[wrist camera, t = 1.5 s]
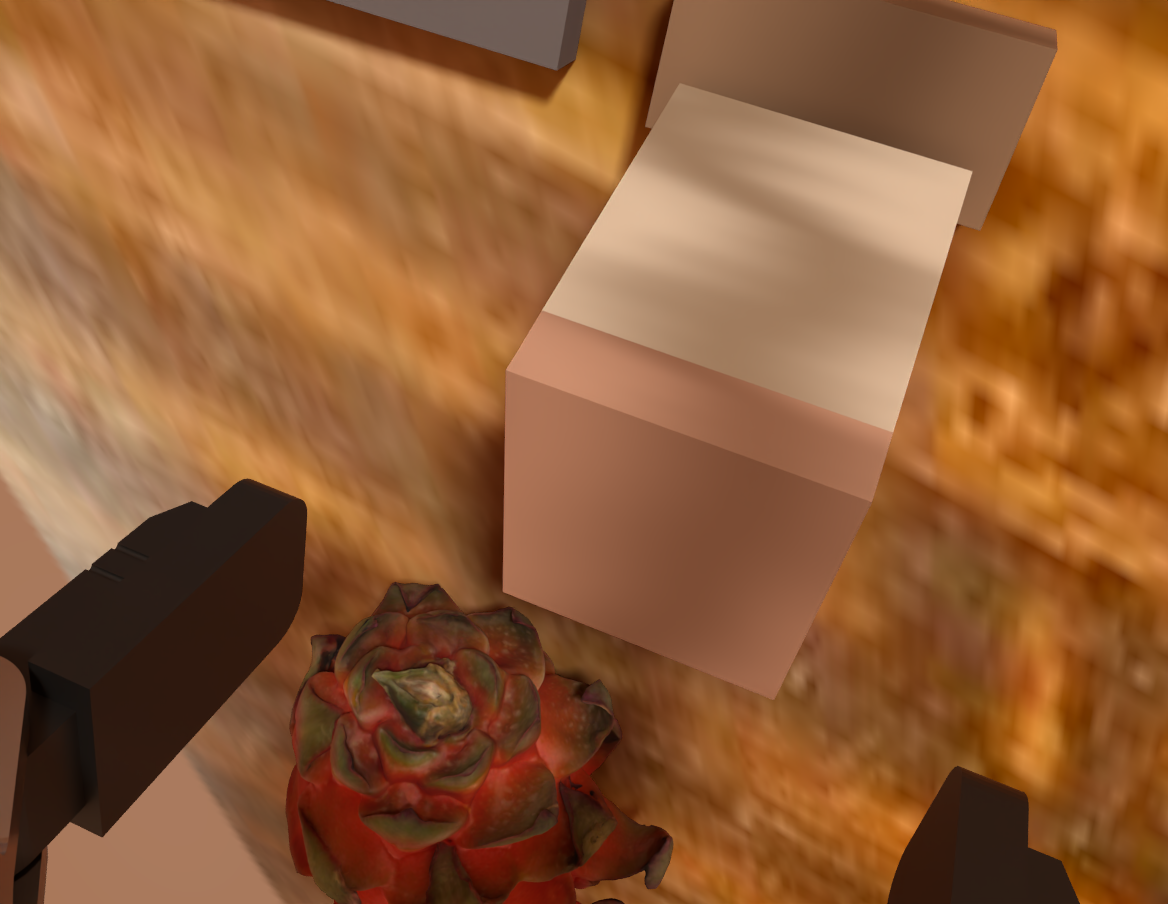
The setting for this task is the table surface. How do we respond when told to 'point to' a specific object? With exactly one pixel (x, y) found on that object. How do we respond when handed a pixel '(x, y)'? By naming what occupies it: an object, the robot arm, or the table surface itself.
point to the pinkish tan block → (721, 383)
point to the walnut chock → (871, 73)
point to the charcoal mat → (494, 24)
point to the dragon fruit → (454, 765)
